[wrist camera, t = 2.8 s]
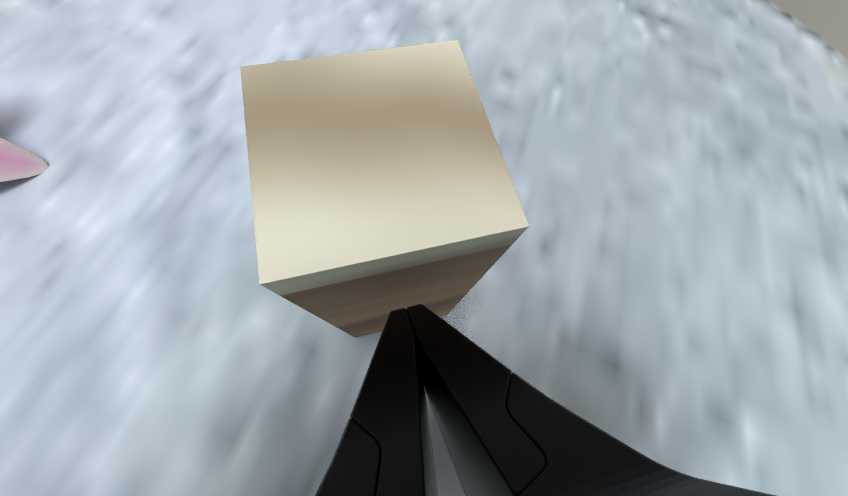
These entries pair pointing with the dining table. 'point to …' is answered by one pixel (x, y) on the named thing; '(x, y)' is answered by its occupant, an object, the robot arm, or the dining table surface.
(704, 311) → the dining table surface
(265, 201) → the walnut block
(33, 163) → the lily
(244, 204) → the dining table surface
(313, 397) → the dining table surface
